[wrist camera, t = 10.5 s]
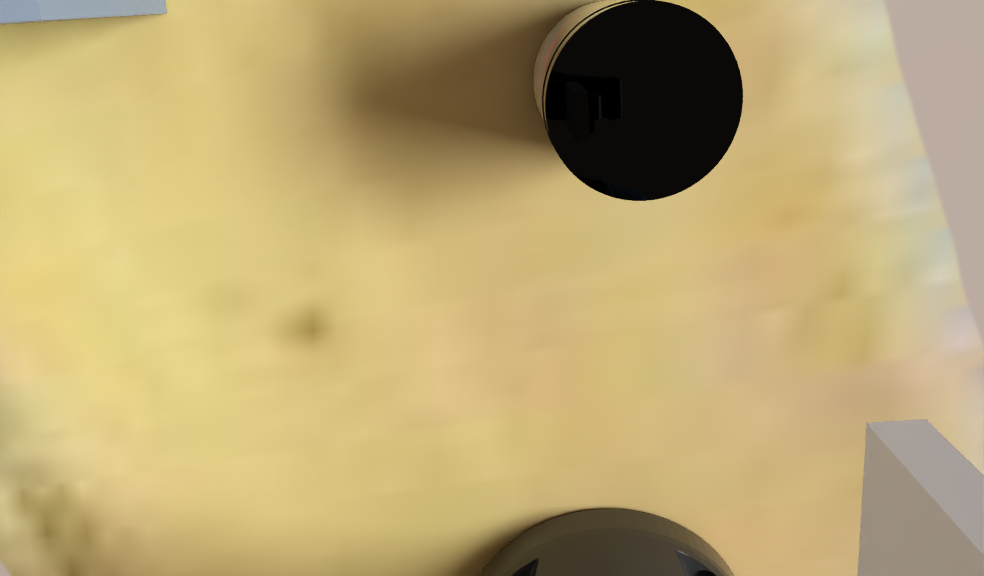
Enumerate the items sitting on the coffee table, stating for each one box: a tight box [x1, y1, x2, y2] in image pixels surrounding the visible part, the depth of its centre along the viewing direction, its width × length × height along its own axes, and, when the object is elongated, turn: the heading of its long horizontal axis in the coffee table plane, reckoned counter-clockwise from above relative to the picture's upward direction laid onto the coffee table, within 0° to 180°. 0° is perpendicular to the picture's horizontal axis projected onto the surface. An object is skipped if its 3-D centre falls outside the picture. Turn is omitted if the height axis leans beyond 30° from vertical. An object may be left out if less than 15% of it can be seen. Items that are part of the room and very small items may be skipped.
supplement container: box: [533, 0, 743, 201], centre depth 37 cm, size 7×7×10 cm
